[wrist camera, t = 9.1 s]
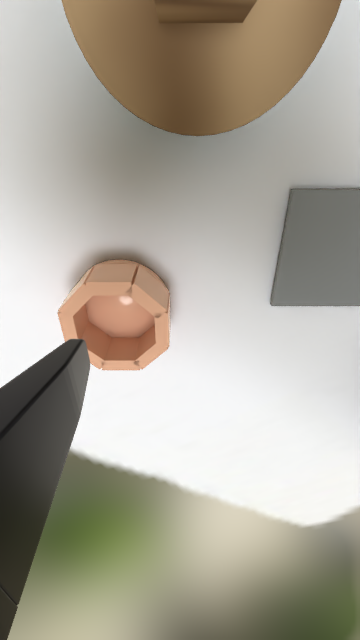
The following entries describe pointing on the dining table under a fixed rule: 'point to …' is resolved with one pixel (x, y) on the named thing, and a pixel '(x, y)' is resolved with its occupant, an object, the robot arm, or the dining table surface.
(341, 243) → the mat
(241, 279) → the dining table surface
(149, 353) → the small bowl
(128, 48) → the lid
